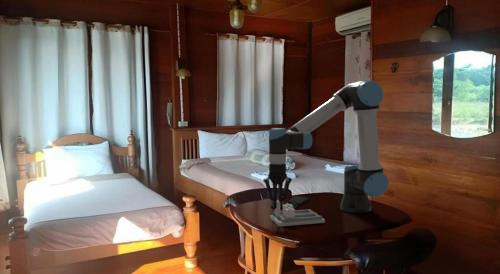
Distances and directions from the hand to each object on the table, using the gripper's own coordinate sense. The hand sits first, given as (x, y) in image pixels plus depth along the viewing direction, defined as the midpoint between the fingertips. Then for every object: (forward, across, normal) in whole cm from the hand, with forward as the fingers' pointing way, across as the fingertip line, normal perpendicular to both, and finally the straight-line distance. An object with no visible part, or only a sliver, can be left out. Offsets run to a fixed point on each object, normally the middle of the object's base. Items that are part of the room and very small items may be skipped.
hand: (277, 215), depth 182 cm
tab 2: (+3, -6, 0) cm, 6 cm away
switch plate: (+4, -11, -4) cm, 12 cm away
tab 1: (+3, -7, -7) cm, 11 cm away
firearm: (+5, -19, -35) cm, 40 cm away
